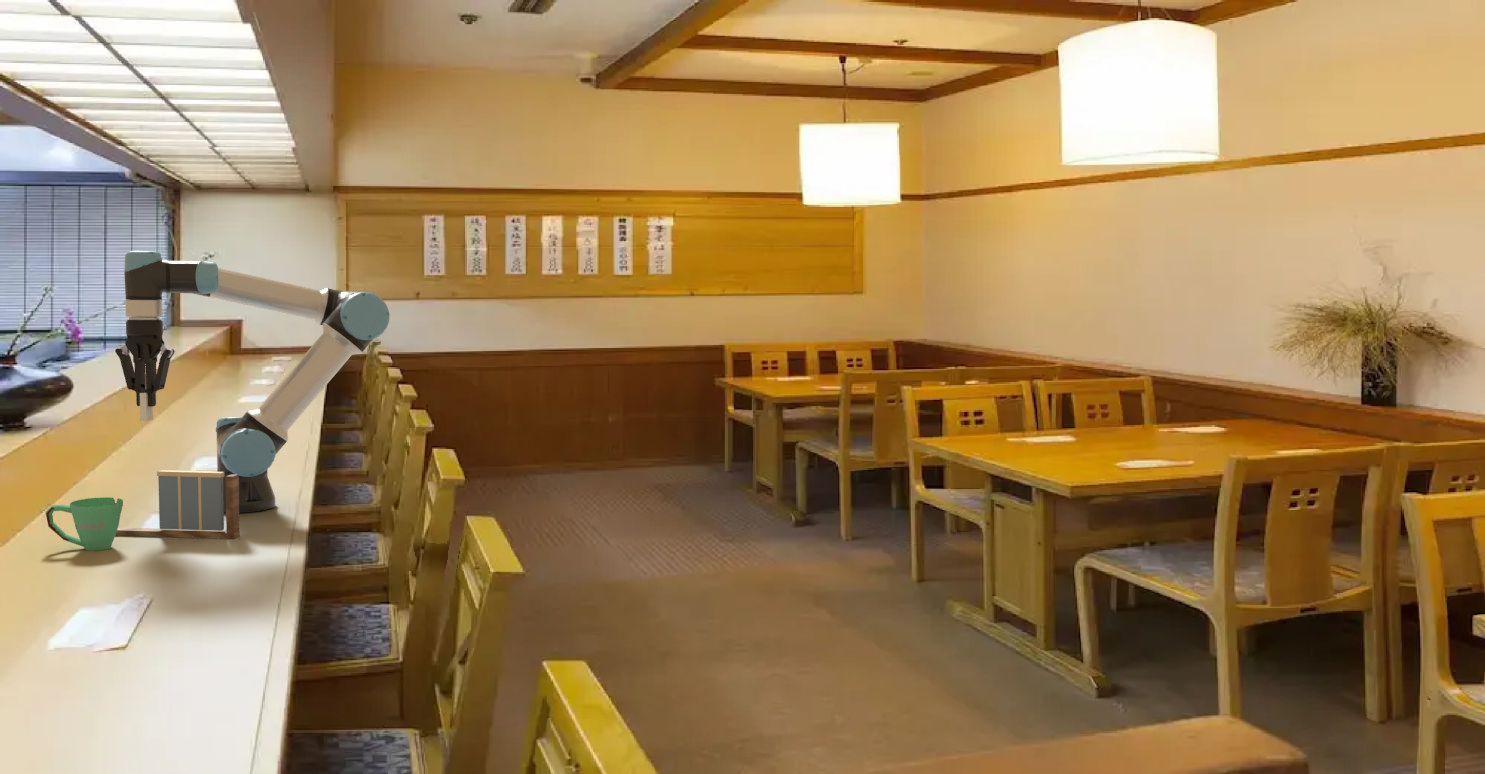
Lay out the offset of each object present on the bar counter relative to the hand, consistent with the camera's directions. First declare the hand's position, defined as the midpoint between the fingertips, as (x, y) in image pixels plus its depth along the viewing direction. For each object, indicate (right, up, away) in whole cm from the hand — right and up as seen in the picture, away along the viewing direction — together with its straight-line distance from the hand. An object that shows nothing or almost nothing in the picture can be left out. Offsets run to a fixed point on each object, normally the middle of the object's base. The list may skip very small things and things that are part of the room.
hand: (146, 420), depth 269 cm
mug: (-1, -27, -23) cm, 35 cm away
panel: (+15, -24, -9) cm, 30 cm away
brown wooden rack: (+10, -26, -9) cm, 29 cm away
